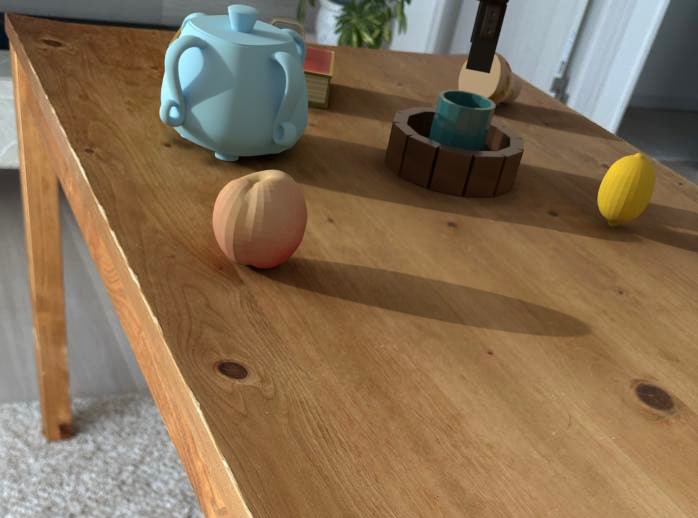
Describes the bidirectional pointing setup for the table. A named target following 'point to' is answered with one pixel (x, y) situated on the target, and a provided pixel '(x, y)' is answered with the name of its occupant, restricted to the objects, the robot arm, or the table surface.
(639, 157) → the lemon
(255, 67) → the decorative pot
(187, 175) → the table surface
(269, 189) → the fruit
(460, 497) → the table surface
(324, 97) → the hardcover book
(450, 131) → the tumbler
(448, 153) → the ring
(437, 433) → the table surface
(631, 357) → the table surface
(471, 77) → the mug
